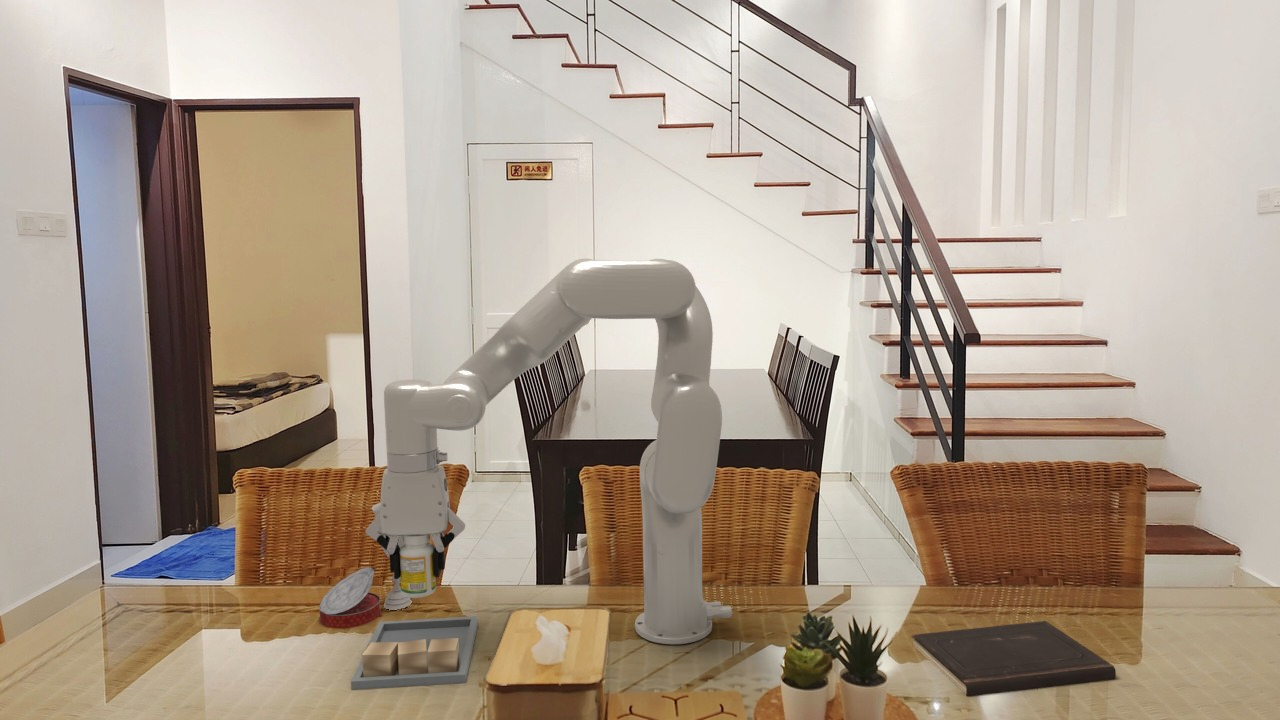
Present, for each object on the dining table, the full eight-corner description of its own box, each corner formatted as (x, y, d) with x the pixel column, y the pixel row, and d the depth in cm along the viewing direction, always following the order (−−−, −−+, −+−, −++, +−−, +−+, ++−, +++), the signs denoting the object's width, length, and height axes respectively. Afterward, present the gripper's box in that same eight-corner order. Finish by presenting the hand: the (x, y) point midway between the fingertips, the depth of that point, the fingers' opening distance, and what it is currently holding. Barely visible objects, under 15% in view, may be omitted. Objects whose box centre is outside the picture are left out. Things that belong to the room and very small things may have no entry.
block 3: (459, 663, 132) (458, 638, 131) (456, 676, 128) (455, 650, 128) (432, 665, 132) (431, 639, 131) (428, 678, 128) (427, 651, 127)
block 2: (427, 664, 132) (425, 639, 131) (427, 676, 128) (426, 650, 128) (399, 668, 131) (398, 642, 130) (399, 680, 127) (397, 654, 127)
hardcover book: (911, 648, 137) (911, 634, 136) (1045, 634, 141) (1045, 620, 140) (966, 700, 121) (967, 684, 121) (1115, 682, 125) (1116, 667, 125)
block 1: (399, 667, 131) (398, 642, 130) (391, 681, 127) (389, 654, 126) (373, 667, 131) (371, 642, 131) (363, 681, 127) (362, 654, 127)
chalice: (406, 614, 151) (400, 513, 149) (369, 611, 153) (363, 511, 150) (424, 597, 158) (419, 500, 156) (390, 595, 160) (384, 499, 157)
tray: (478, 626, 146) (477, 616, 146) (465, 686, 126) (465, 674, 126) (379, 632, 145) (379, 621, 144) (351, 693, 125) (350, 681, 125)
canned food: (373, 652, 148) (366, 614, 142) (313, 646, 148) (304, 608, 142) (392, 598, 157) (387, 560, 151) (336, 593, 157) (328, 555, 151)
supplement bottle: (414, 601, 133) (411, 540, 132) (394, 593, 137) (391, 533, 136) (443, 590, 138) (441, 531, 136) (422, 582, 141) (420, 524, 140)
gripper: (471, 453, 139) (476, 563, 141) (360, 457, 137) (366, 568, 140) (467, 465, 131) (471, 581, 134) (349, 469, 130) (356, 587, 132)
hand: (418, 573), depth 137 cm, fingers closed on supplement bottle, 5 cm apart
